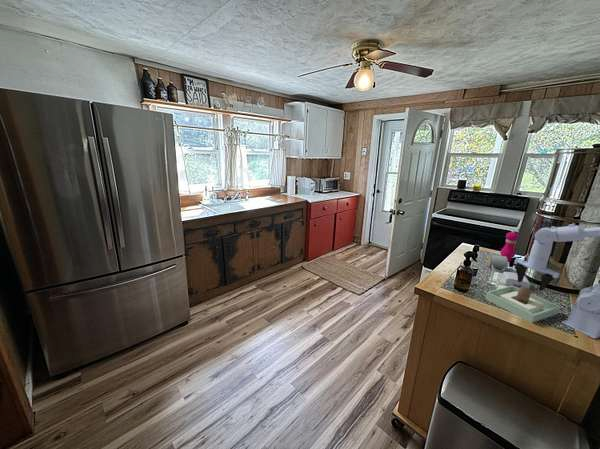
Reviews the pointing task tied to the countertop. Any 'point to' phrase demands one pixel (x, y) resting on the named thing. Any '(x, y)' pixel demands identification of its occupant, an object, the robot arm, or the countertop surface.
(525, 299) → the peg
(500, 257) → the ceramic mug
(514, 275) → the charger
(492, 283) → the countertop surface
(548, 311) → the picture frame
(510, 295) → the bore plate
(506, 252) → the pepper mill
